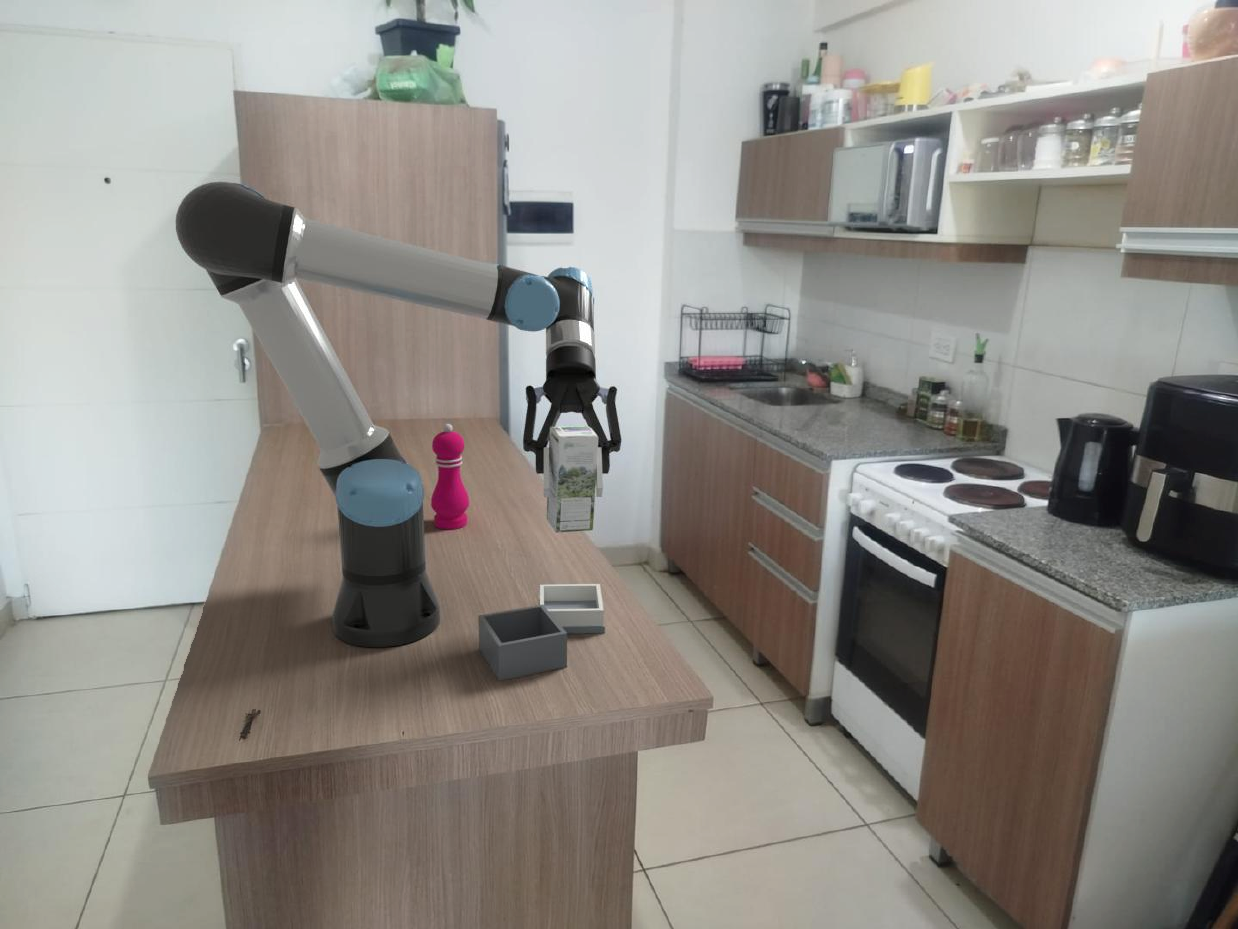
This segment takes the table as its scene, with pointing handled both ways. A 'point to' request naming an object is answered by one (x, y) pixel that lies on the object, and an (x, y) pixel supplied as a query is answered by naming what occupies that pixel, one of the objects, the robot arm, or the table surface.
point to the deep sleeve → (522, 642)
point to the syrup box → (572, 478)
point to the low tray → (575, 606)
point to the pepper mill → (449, 481)
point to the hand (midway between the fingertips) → (573, 492)
